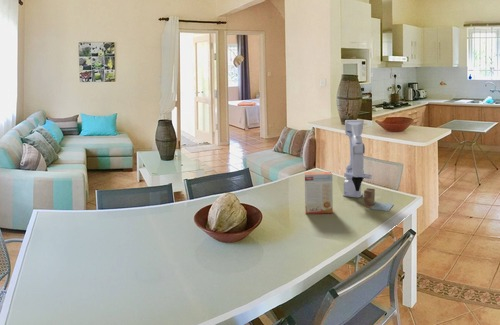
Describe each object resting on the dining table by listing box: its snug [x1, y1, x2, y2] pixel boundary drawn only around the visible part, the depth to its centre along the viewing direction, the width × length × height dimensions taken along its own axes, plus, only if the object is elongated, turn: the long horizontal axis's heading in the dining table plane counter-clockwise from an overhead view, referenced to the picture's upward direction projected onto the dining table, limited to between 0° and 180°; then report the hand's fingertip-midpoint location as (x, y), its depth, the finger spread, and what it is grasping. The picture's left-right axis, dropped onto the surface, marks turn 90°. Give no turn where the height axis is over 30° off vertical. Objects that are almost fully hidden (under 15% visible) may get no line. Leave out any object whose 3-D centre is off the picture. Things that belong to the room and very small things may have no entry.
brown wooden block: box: [363, 187, 376, 208], centre depth 232 cm, size 4×6×8 cm, turn 149°
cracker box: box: [304, 171, 334, 214], centre depth 224 cm, size 14×6×21 cm, turn 84°
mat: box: [370, 201, 395, 212], centre depth 230 cm, size 9×12×1 cm
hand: (357, 190), depth 235 cm, fingers closed
